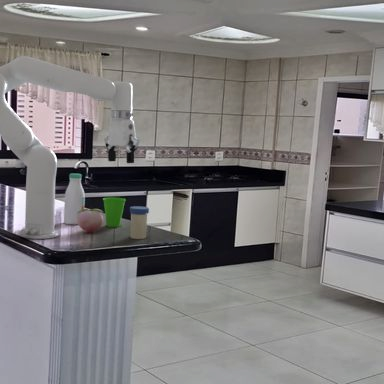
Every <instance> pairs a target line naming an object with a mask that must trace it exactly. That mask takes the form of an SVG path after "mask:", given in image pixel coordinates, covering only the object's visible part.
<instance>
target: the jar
mask: <svg viewBox="0 0 384 384" xmlns="http://www.w3.org/2000/svg"><path fill="white" fill-rule="evenodd" d="M147 226H148V214H132V213H130V230H129V238H130V239H133V240H144V239H147Z"/></svg>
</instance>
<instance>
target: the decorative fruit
mask: <svg viewBox="0 0 384 384" xmlns="http://www.w3.org/2000/svg"><path fill="white" fill-rule="evenodd" d="M81 211H82V212H81ZM79 212H81V213H80V214H79V216H78V224H77V225H78V226H79V227H80V229H82V230H83V231H85V232H87V233H89V234H91V233H93V232H95V231H97V230H98V229H100V228H101V226H102V225H103V223H104V217H103V214H105V211H104V210H102V209H99V208H92V206H90V205H89V208H84V209H82V210H80V211H79ZM79 212H78V213H79ZM102 213H103V214H102Z"/></svg>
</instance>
